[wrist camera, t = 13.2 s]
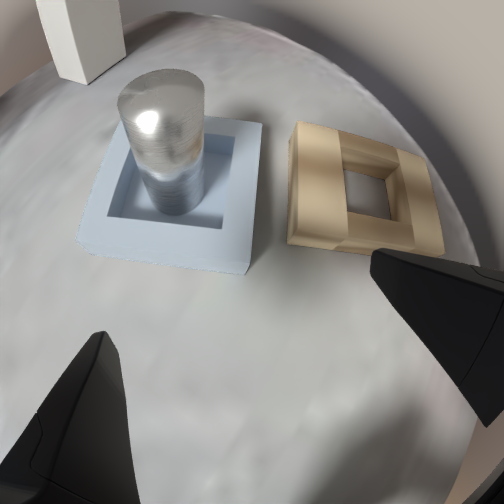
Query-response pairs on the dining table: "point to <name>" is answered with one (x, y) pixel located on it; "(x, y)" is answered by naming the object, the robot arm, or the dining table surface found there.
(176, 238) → the seat block
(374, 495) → the dining table surface
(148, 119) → the steel axle
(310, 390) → the dining table surface
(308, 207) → the tan rectangular frame
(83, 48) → the milk carton
